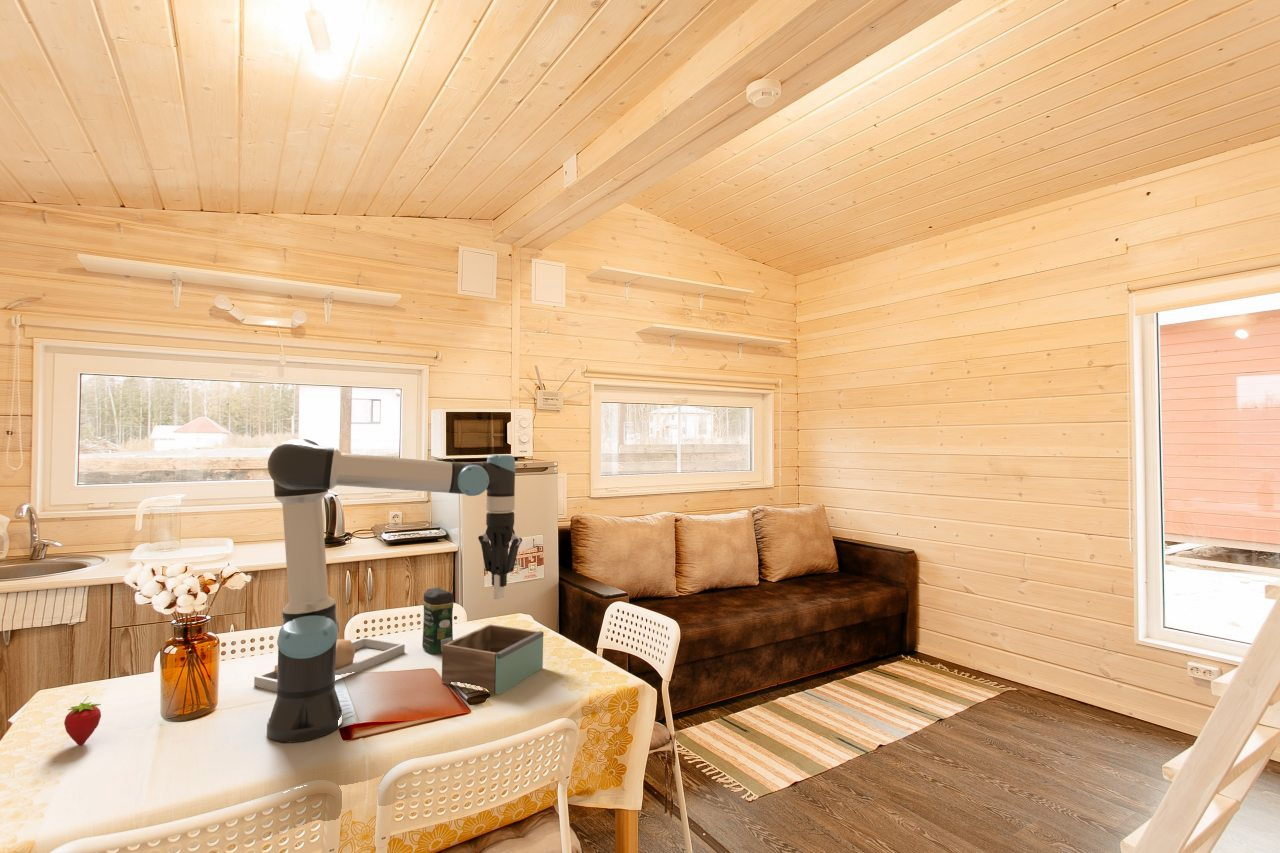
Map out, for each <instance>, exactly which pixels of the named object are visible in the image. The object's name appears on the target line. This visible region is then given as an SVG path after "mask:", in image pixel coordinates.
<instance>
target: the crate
mask: <svg viewBox="0 0 1280 853" xmlns="http://www.w3.org/2000/svg"><path fill="white" fill-rule="evenodd" d="M537 632H538V630H530V629H522V628H515V627H510V626H509V627H508V626H503V625H496V624H487V625H486V626H483V627H481V628H478V629H476V630H474V631H472V632H469V633H467V634H465V635H462V636H460V637H458V638H455V639H453V641H451V642H448V643H446V644H444V645H443V646H442V653H441V658H442V659H441V683H442V682H444V683H445V684H444V685H448V686H450V685H449V684H450V683H451V682H460V683H467V684H471V685H476V686H480V687H483V688H486V689H487V690H488V691H489V693H488V694H492V695H496V694H495V681H496V653H498V652H499V651H501V650H503V649H505V648H507V647H509V646H511V645H513V644H515V643H517V642H519V641H521V640H523V639H525V638H527V637H529V636H531V635H533V634H535V633H537Z"/></svg>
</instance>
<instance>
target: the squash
mask: <svg viewBox="0 0 1280 853" xmlns="http://www.w3.org/2000/svg"><path fill="white" fill-rule="evenodd" d="M351 640H352V639H351ZM351 640H350V639H342V638H341V639H339V638H337V644H336V661H335V670H338V669H340V668H343V667H345V666H348V665H350V664H353V663H354V658H355V653H356V650H355V649H354V647H353V645H352V642H353V641H351ZM273 670H274V672H275V674H276V676H277V675H278V664H277V665H275V666H274V669H273Z"/></svg>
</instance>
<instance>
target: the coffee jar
mask: <svg viewBox="0 0 1280 853" xmlns="http://www.w3.org/2000/svg"><path fill="white" fill-rule="evenodd" d="M423 593H424V594H423V601H422V602H423V625H422V626H423V628H422V648H423V649H424V650H425V651H426V652H428V653H430V654H442V646H443V645H444V644H446V643H448V642H451V641H453V640H454V639H453V638H454V637H453V636H454V634H453V608H454V604H455V602H454V601H455V600H454V593H453V592H451V591H449V590H446V589H445V588H444V589H443V588H441V587H433V588H427V589H426V590H425V591H424V592H423Z"/></svg>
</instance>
